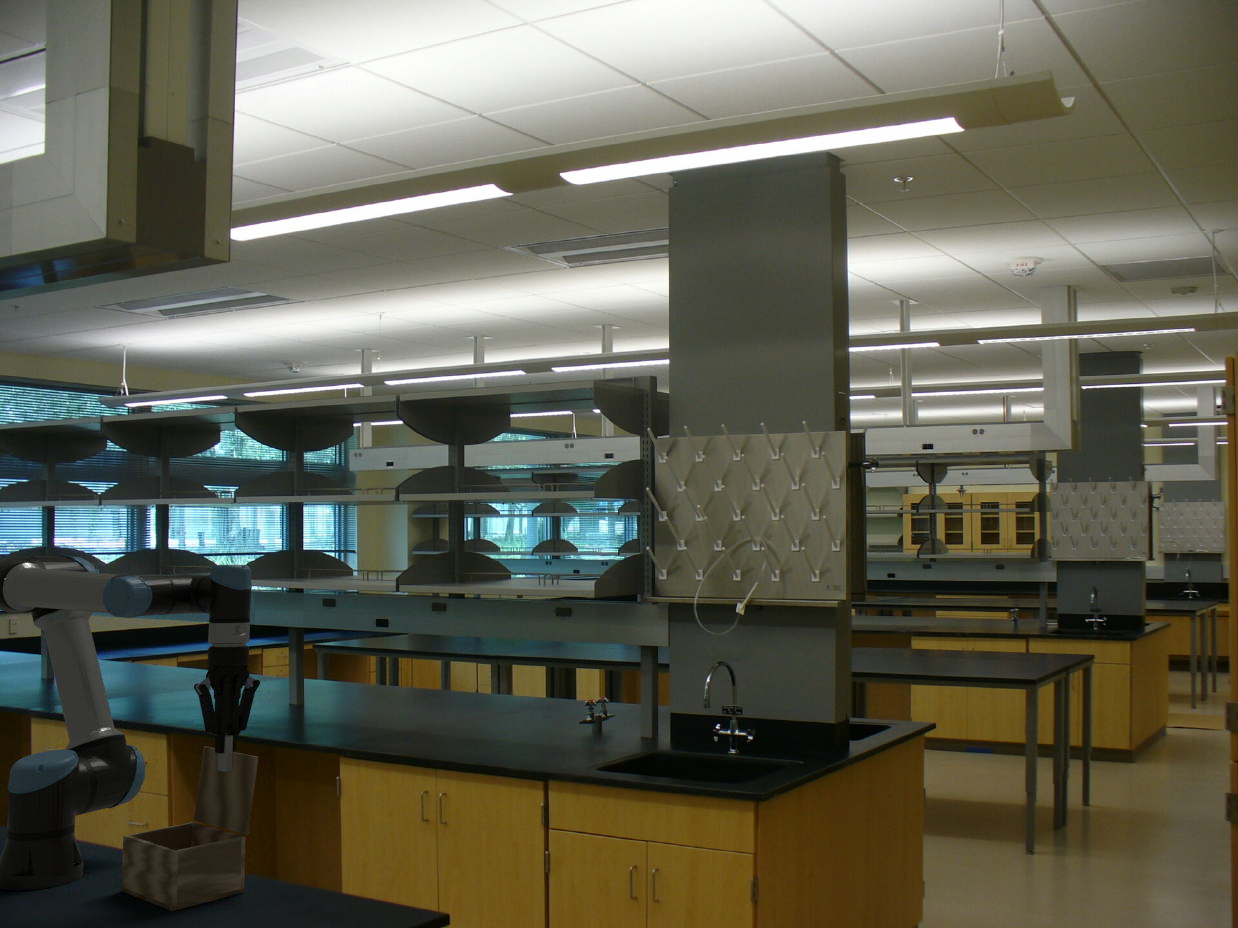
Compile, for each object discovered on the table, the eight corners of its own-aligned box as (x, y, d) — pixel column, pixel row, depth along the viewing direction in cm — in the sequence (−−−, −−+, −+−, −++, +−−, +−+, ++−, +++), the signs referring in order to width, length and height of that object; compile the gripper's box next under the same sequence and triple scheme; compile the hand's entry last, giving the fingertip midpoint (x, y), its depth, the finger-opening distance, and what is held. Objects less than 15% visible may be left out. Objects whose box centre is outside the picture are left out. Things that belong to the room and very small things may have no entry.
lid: (203, 746, 221) (206, 746, 222) (193, 820, 219) (196, 819, 219) (255, 756, 210) (258, 756, 210) (245, 834, 207) (248, 834, 208)
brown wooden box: (121, 891, 207) (123, 835, 208) (191, 874, 218) (193, 821, 219) (172, 910, 196) (174, 851, 196) (244, 892, 206) (245, 836, 207)
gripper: (208, 647, 209) (203, 777, 207) (269, 644, 219) (265, 767, 217) (187, 645, 214) (182, 772, 212) (248, 642, 224) (244, 763, 221)
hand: (224, 770), depth 214 cm, fingers closed
